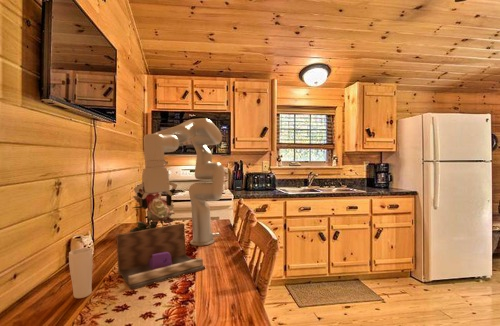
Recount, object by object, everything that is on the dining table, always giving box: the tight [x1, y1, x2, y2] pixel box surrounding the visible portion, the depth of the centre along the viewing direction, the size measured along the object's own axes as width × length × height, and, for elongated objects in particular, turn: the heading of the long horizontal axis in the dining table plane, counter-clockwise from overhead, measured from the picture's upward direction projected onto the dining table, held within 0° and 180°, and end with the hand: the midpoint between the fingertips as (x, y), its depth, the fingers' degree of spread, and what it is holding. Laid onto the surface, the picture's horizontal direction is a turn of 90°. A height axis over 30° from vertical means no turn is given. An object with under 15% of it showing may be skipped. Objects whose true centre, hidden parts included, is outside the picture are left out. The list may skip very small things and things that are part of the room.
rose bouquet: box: [129, 188, 175, 232], centre depth 181 cm, size 26×29×30 cm
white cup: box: [68, 247, 94, 299], centre depth 98 cm, size 7×7×15 cm
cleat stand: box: [116, 222, 206, 290], centre depth 118 cm, size 28×21×15 cm
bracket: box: [149, 252, 172, 270], centre depth 119 cm, size 12×7×7 cm, turn 27°
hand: (157, 206), depth 119 cm, fingers open, 9 cm apart
